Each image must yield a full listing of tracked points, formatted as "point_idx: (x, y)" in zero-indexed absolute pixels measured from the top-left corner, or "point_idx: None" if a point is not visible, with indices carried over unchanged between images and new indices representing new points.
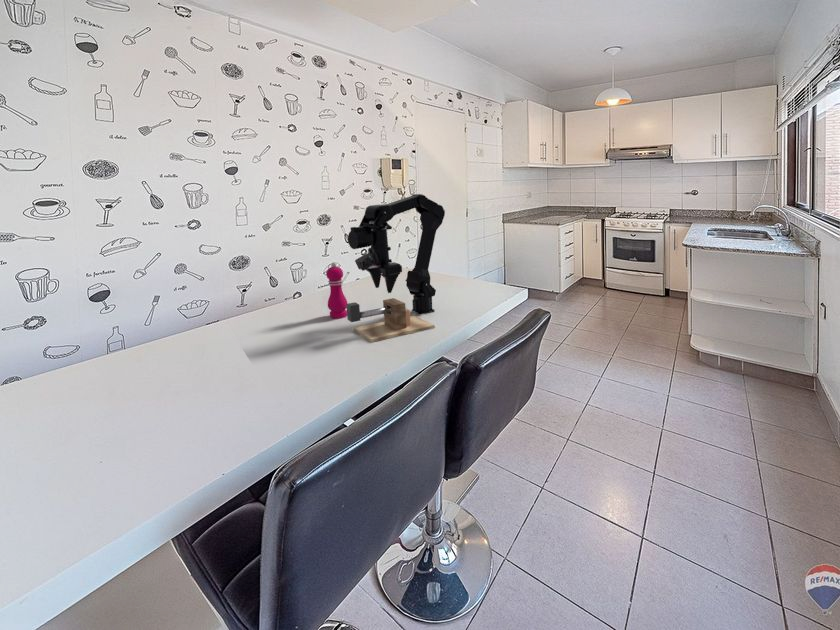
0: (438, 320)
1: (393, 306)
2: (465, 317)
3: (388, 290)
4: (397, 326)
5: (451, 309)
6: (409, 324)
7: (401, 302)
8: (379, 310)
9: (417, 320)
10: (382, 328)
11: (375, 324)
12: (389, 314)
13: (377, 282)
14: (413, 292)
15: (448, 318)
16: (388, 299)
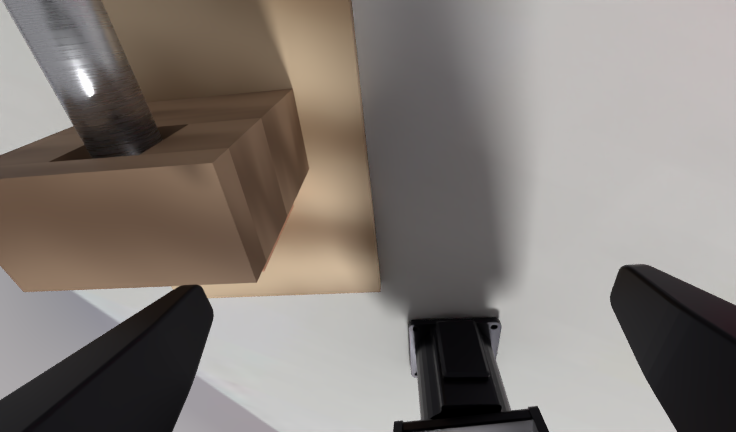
0: (286, 335)
1: None
2: (279, 401)
3: (144, 314)
4: None
5: (400, 412)
6: None
7: (50, 276)
8: (5, 5)
9: (279, 272)
10: (195, 32)
11: (315, 18)
12: None
13: (680, 369)
14: (531, 427)
15: (294, 366)
16: (217, 223)
